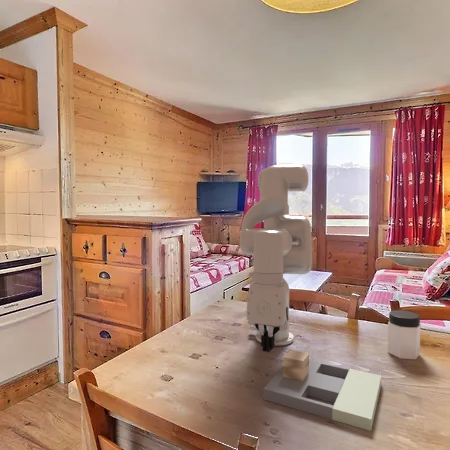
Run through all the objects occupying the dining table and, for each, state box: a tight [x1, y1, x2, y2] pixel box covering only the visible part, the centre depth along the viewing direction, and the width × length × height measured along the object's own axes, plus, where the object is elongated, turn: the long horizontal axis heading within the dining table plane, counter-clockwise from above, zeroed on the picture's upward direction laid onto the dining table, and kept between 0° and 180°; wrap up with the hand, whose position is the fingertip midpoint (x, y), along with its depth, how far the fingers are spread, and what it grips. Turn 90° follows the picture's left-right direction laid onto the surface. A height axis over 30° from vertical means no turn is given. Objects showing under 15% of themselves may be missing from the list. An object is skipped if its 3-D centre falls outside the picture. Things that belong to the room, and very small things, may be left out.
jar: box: [387, 309, 422, 360], centre depth 103 cm, size 9×8×12 cm
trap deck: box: [262, 358, 382, 432], centre depth 82 cm, size 23×20×2 cm
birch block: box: [282, 349, 310, 382], centre depth 85 cm, size 5×5×5 cm
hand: (267, 349), depth 88 cm, fingers closed
